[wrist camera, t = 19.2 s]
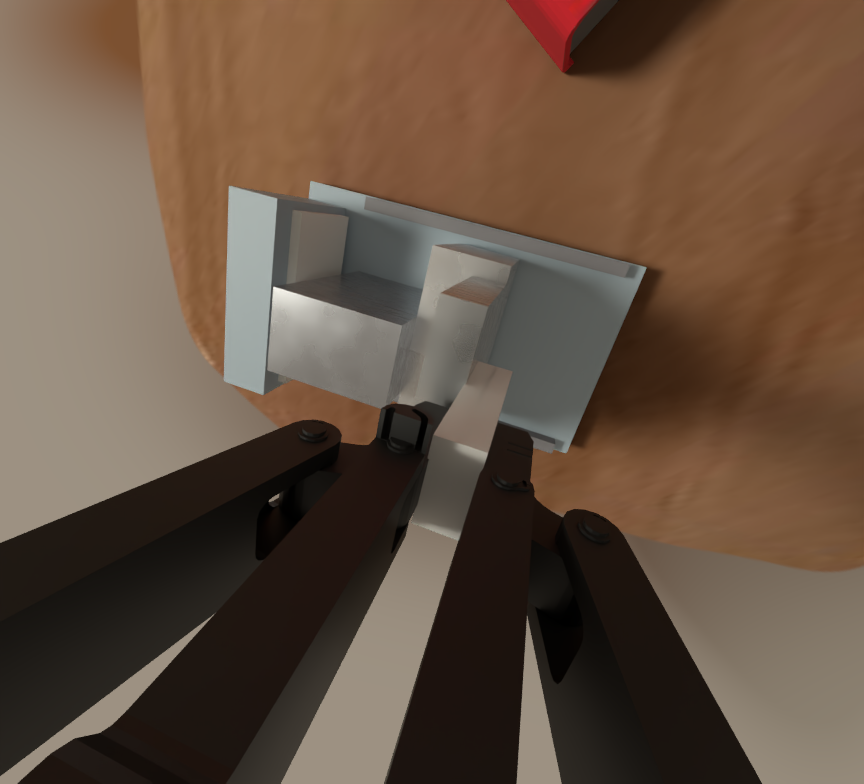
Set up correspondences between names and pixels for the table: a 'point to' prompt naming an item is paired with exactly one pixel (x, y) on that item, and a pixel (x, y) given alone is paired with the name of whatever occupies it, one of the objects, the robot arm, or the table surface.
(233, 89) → the table surface
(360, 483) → the robot arm
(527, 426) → the vise base
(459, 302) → the sliding jaw
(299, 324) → the steel block
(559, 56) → the red device housing
